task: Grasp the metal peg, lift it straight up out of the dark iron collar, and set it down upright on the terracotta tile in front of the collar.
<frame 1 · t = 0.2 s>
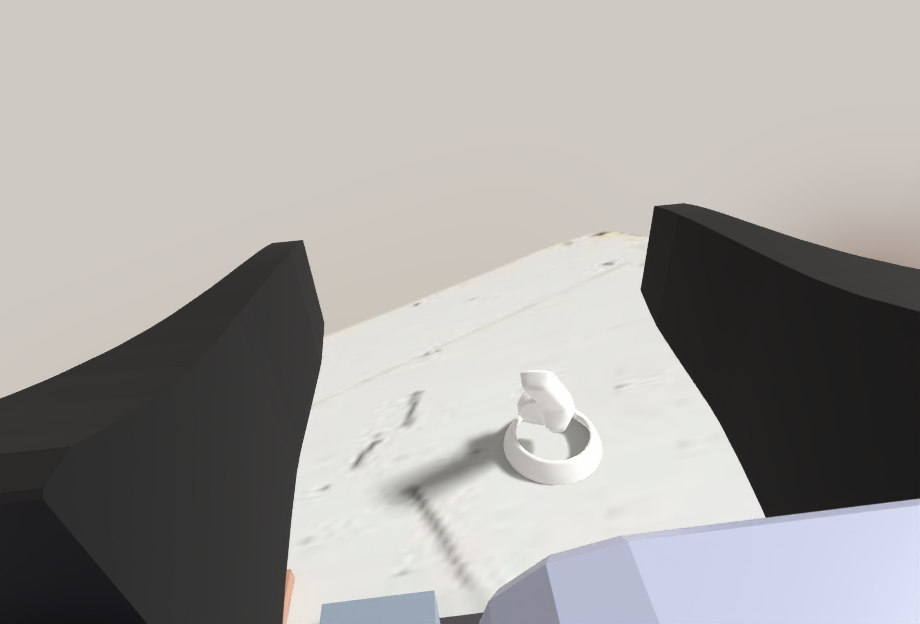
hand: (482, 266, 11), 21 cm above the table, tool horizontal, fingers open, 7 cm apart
white handled ring: (551, 448, 34), on the table
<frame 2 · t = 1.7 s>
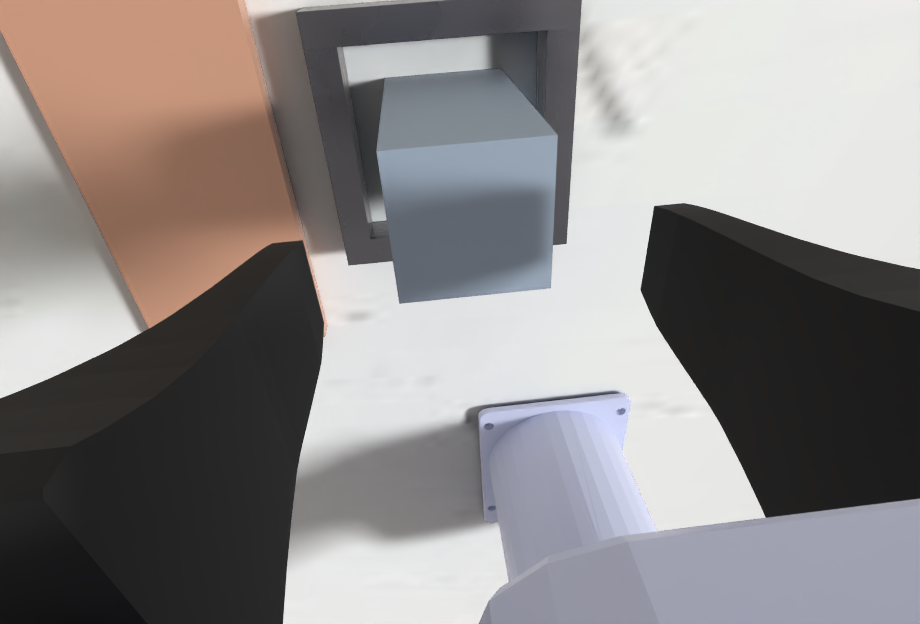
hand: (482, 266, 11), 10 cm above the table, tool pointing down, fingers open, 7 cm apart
metal peg: (447, 132, 19), resting in iron collar
terracotta tile: (183, 155, 19), on the table
iron collar: (447, 132, 19), on the table
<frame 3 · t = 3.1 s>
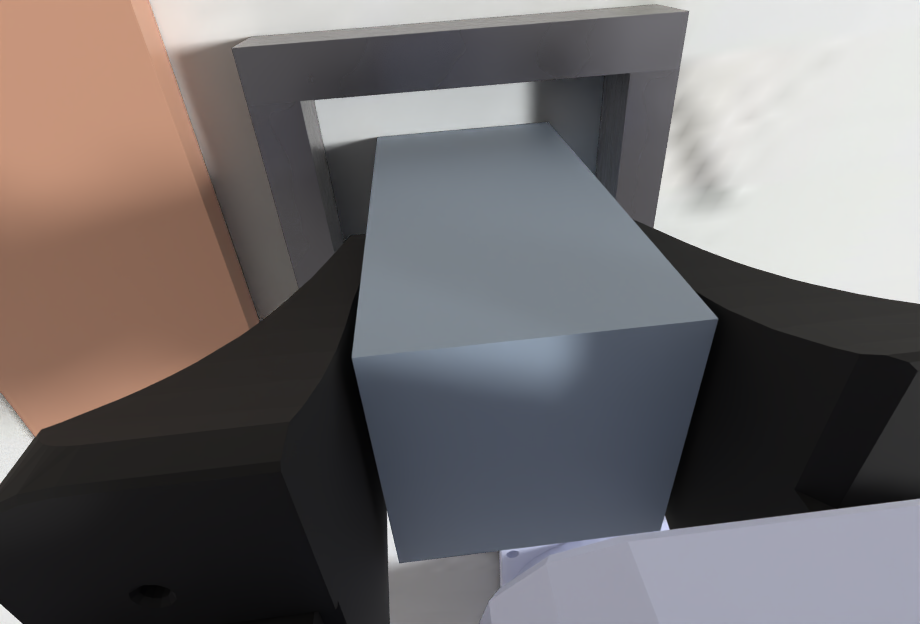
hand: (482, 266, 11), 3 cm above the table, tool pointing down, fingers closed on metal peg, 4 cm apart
metal peg: (467, 209, 13), resting in iron collar, touching gripper
terracotta tile: (85, 246, 13), on the table
iron collar: (467, 210, 13), on the table
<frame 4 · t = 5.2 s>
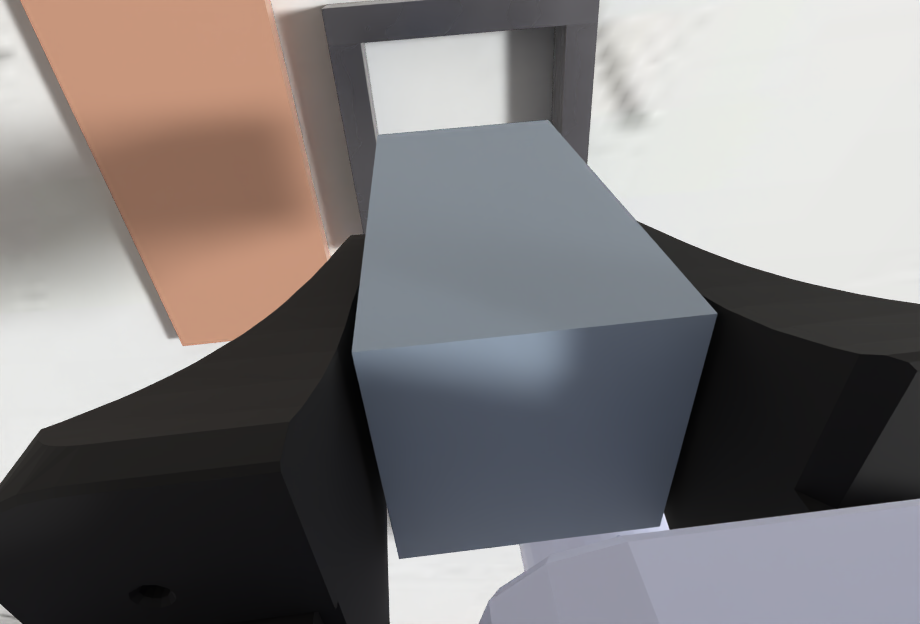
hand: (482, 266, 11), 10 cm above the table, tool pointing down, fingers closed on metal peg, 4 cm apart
metal peg: (467, 207, 13), point 7 cm above the table, touching gripper
terracotta tile: (207, 150, 19), on the table
iron collar: (465, 126, 20), on the table
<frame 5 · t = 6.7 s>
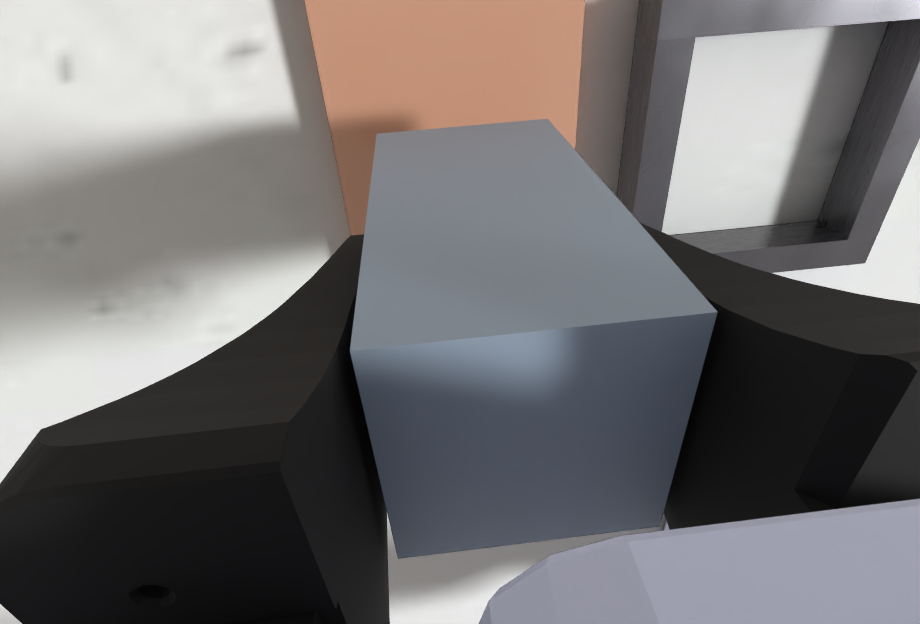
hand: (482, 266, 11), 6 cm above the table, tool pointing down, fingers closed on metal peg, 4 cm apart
metal peg: (467, 206, 13), point 4 cm above the table, touching gripper
terracotta tile: (456, 163, 16), on the table
iron collar: (753, 136, 17), on the table
when the fingers open (5 cm above the table, at t = 7.8 s): metal peg drops 1 cm, resting on terracotta tile.
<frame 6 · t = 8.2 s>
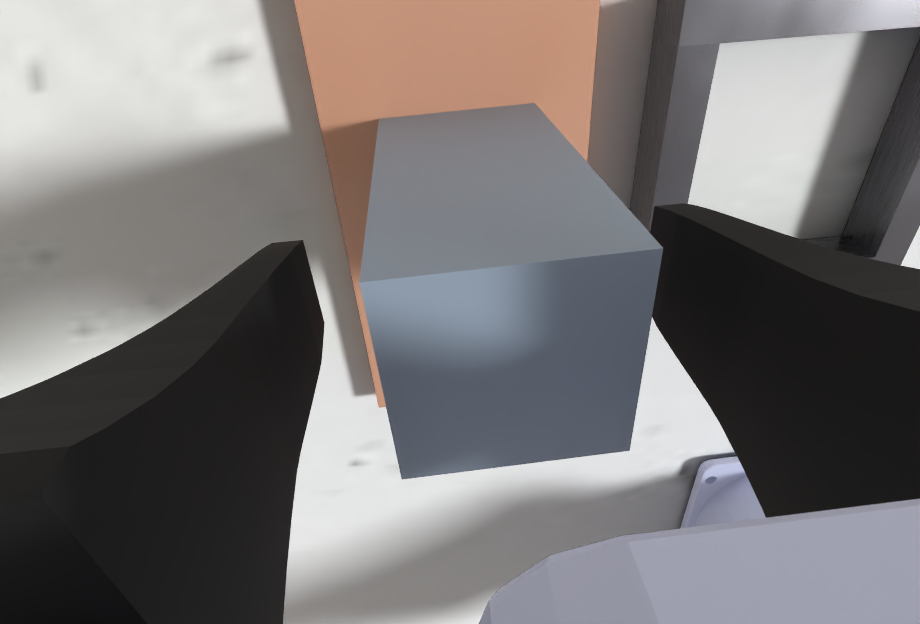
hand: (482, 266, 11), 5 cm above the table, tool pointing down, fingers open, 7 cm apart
metal peg: (462, 185, 15), point 1 cm above the table, touching terracotta tile
terracotta tile: (459, 177, 15), on the table
iron collar: (776, 148, 16), on the table
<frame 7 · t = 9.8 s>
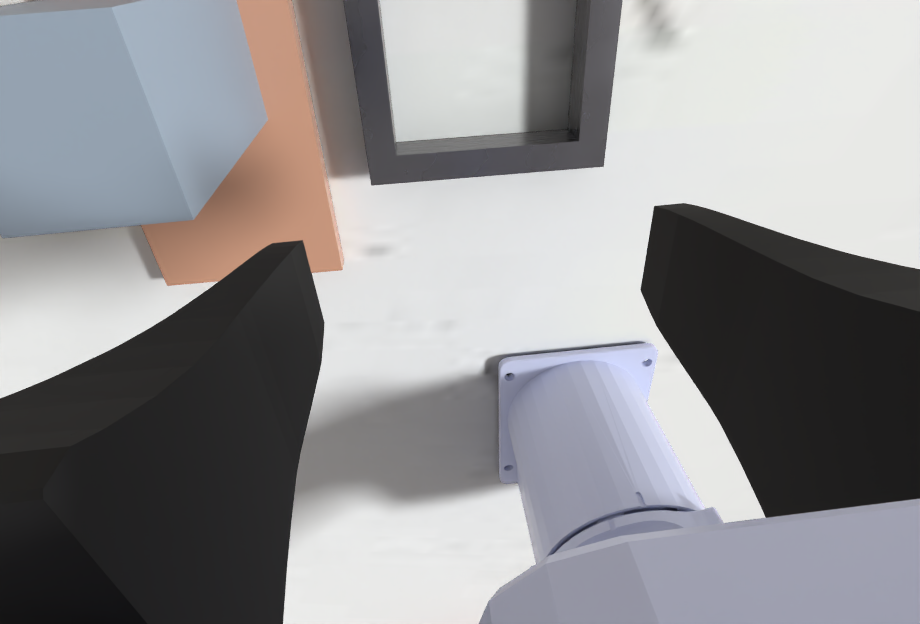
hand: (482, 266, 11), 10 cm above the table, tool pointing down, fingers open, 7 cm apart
metal peg: (187, 60, 17), point 1 cm above the table, touching terracotta tile
terracotta tile: (195, 58, 17), on the table
iron collar: (480, 39, 18), on the table
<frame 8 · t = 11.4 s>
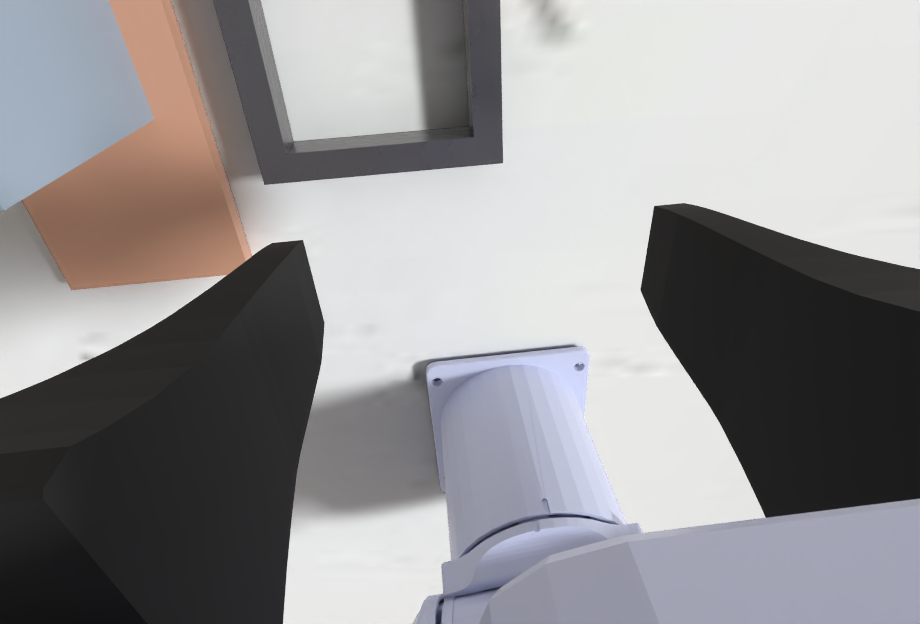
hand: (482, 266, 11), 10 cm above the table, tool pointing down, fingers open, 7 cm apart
metal peg: (65, 59, 17), point 1 cm above the table, touching terracotta tile
terracotta tile: (78, 58, 17), on the table
iron collar: (368, 35, 18), on the table
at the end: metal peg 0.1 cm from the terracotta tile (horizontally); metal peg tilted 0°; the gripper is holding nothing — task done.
